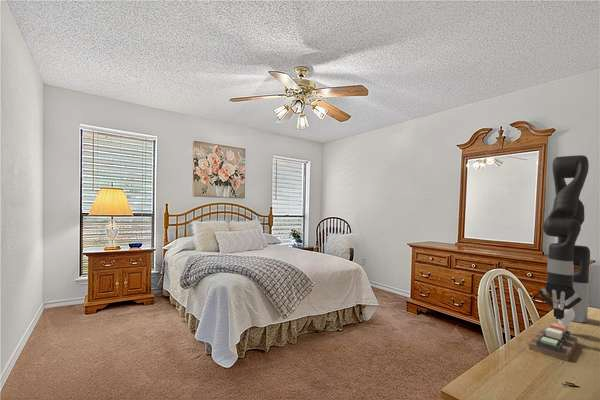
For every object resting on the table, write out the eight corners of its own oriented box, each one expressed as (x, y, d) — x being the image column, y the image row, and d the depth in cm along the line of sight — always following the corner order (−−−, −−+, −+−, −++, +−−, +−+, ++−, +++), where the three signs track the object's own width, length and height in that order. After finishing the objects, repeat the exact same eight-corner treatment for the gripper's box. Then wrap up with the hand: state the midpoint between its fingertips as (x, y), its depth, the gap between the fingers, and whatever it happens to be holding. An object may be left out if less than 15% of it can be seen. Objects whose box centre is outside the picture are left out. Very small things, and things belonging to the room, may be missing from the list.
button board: (542, 333, 118) (543, 324, 118) (577, 343, 111) (577, 333, 111) (528, 349, 104) (529, 339, 104) (567, 361, 96) (567, 350, 96)
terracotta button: (552, 327, 116) (552, 322, 116) (566, 331, 113) (566, 325, 113) (550, 330, 113) (550, 324, 113) (564, 334, 110) (564, 328, 110)
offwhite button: (548, 332, 110) (548, 327, 110) (562, 336, 107) (562, 331, 107) (545, 335, 108) (545, 329, 108) (560, 339, 105) (560, 333, 105)
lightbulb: (575, 337, 116) (576, 308, 116) (553, 332, 120) (554, 304, 120) (573, 332, 121) (574, 304, 121) (552, 327, 125) (553, 301, 125)
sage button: (543, 342, 105) (543, 336, 105) (558, 346, 102) (558, 340, 102) (540, 345, 102) (540, 339, 102) (555, 350, 99) (556, 343, 99)
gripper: (585, 274, 111) (584, 322, 110) (540, 267, 121) (538, 311, 120) (582, 276, 106) (581, 327, 105) (535, 269, 116) (534, 315, 115)
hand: (558, 318), depth 113 cm, fingers closed
